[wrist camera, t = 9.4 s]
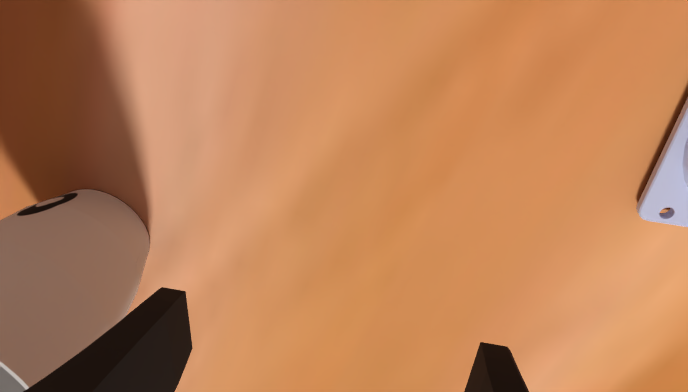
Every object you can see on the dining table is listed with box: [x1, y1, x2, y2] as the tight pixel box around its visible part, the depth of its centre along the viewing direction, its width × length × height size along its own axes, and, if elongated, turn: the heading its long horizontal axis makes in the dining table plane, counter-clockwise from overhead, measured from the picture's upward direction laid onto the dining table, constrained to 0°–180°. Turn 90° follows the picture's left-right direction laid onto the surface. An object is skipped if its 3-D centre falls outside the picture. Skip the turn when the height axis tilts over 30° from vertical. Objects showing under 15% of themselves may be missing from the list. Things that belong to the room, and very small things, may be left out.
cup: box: [0, 189, 150, 392], centre depth 22 cm, size 8×8×10 cm
